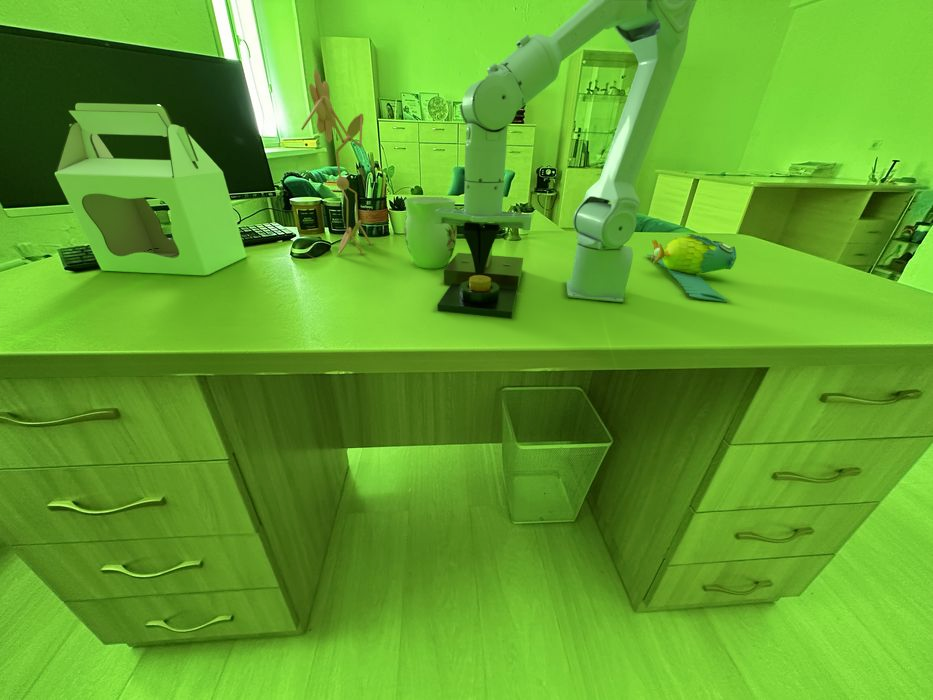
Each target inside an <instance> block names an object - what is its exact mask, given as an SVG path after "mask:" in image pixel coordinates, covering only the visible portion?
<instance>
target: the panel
mask: <svg viewBox="0 0 933 700" xmlns="http://www.w3.org/2000/svg"><path fill="white" fill-rule="evenodd" d="M523 266H524V257H520V256H519V257H517V256H507V255H506V256H504V255H494V254H492V260H491V262H490V264H489V266H488V267H486V269H485V272H484V274H476V273H475V267H474V262H473V258H472V254H471V253H465V252H457V253H456V254H455V256H454V257H453V258H451V259H450V261H449V262H448V263H447V264H446V266H445V267H444V269H443V285H444V286H450V285H451V284H462V283H463V282H466V281H469V278H470V277H471V276H475V275H484V276H488V277H490V278H491V282H494V283H496V284H497V285H499V286H500V288H506V289H517V292H518V291H519V286H520V283H521V277H522V274H523Z"/></svg>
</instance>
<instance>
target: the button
mask: <svg viewBox="0 0 933 700" xmlns="http://www.w3.org/2000/svg"><path fill="white" fill-rule="evenodd" d="M469 289H471V290H475V291H487V290H490V289H491V278H490V277H488V276H484V275H475V276H471V277H470V278H469Z"/></svg>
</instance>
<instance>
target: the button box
mask: <svg viewBox="0 0 933 700" xmlns="http://www.w3.org/2000/svg"><path fill="white" fill-rule="evenodd" d="M517 295H518V291H517V289H506V288H500V286H499V285H497V284H496V283H494V282H491V289H490V290H487V291H475V290H471V289H469V281H466V282H463V283H462V284H451V285H449V287H448V288H447V289H446V291H445V293H444V294H443V295H442V297H441V299H440V300H439V301H438V302H437V312H444V313H445V312H446V313H453V314H464V315H472V316H473V315H474V316H483V317H493V318H502V319H512V318H513V313H514V310H515V304H516V302H517V301H516V299H517Z"/></svg>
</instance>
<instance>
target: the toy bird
mask: <svg viewBox="0 0 933 700" xmlns="http://www.w3.org/2000/svg"><path fill="white" fill-rule="evenodd" d="M652 245H653V250H654V251H653V253H652V254H649V253H648V254H646V256H648V257H649V258H650V259H649V261H652V260H653V262H652V263H653V264H654V263H658V264H659V265H661V266H662V267H663V268H664V269H667V271H668V272H669V274H671V275H672V277H673V278H674V279H676V281H678V283H679V284H680V286H682V287H683V288H682V289H684V291H685V293H686V294H688V295H689V296H690V297H691V298H695V299H699V300H705V301H707V302H722V303H728V300H727V299H726V298H725V297H724V296H723V295H722V294H719V293H718V292H717V291H716V290H715V289H713V287H712V286H710V284H709V283H707V281H705V279H703V278H702V277H701V276H700V274H706V273H710V272H716V271H722V270H732V268H733V267H734V265H735V263H736V260H737V250H736V247H735V246H730V245H729V244H726V243H724V242H722V241H717V240H712V239H709V238H707V237H705V236H704V235H697V234H696V235H695V234H693V233H687V236H682V237H675V238H673V239H672V240H670V242H669V243H667V244H666V246H665V248H664V247H663V245H662V244H661V243H659V242H658V241H657V240H656V239H654V240H653V239H652Z"/></svg>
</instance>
